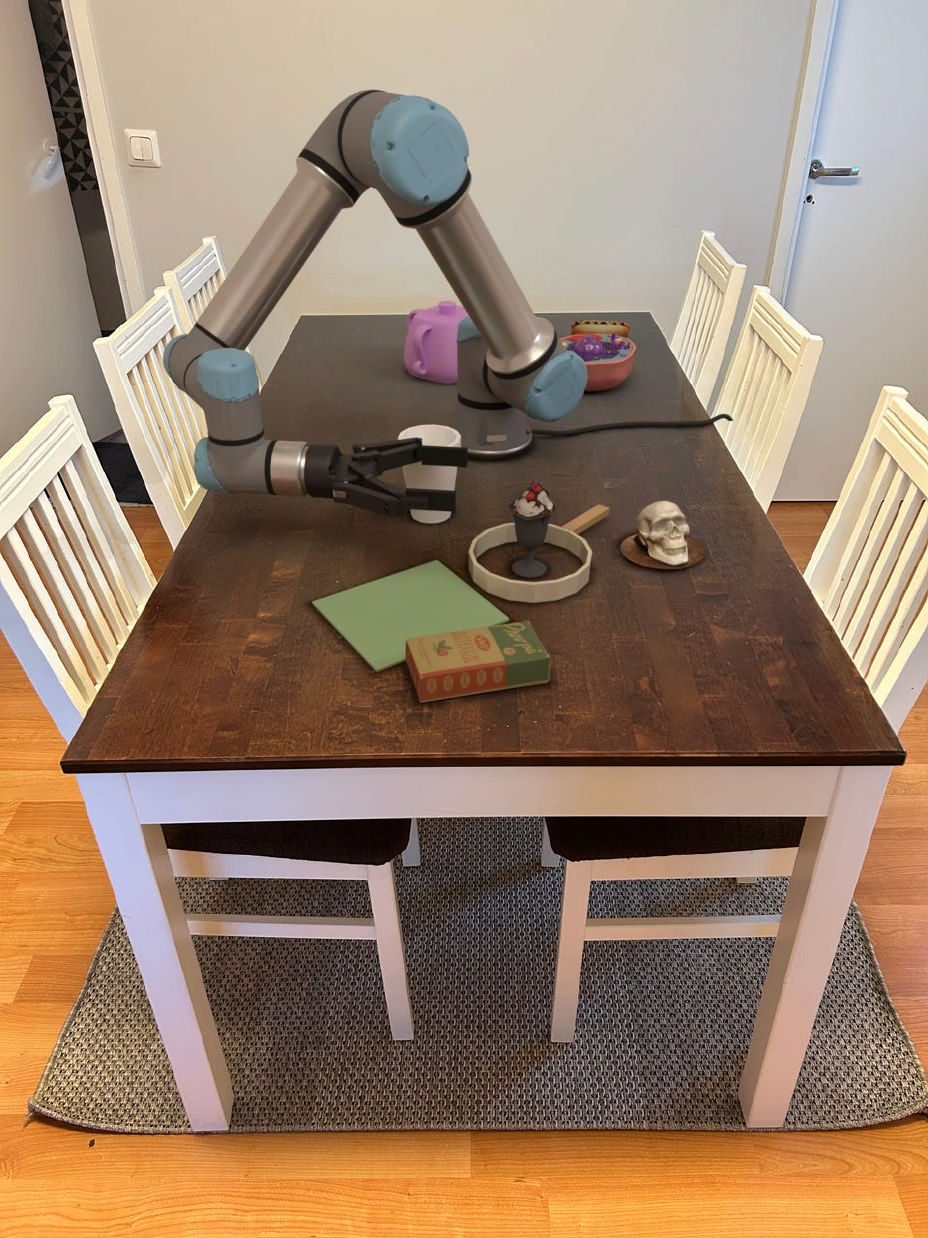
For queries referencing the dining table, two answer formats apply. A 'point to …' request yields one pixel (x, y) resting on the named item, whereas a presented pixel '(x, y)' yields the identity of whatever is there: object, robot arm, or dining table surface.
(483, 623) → the mat
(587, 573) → the pan
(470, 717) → the dining table surface
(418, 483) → the foam cup
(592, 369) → the cell model
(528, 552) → the sundae
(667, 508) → the skull
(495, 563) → the dining table surface
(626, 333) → the hot dog
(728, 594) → the dining table surface
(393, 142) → the robot arm
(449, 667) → the carton
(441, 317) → the teapot
